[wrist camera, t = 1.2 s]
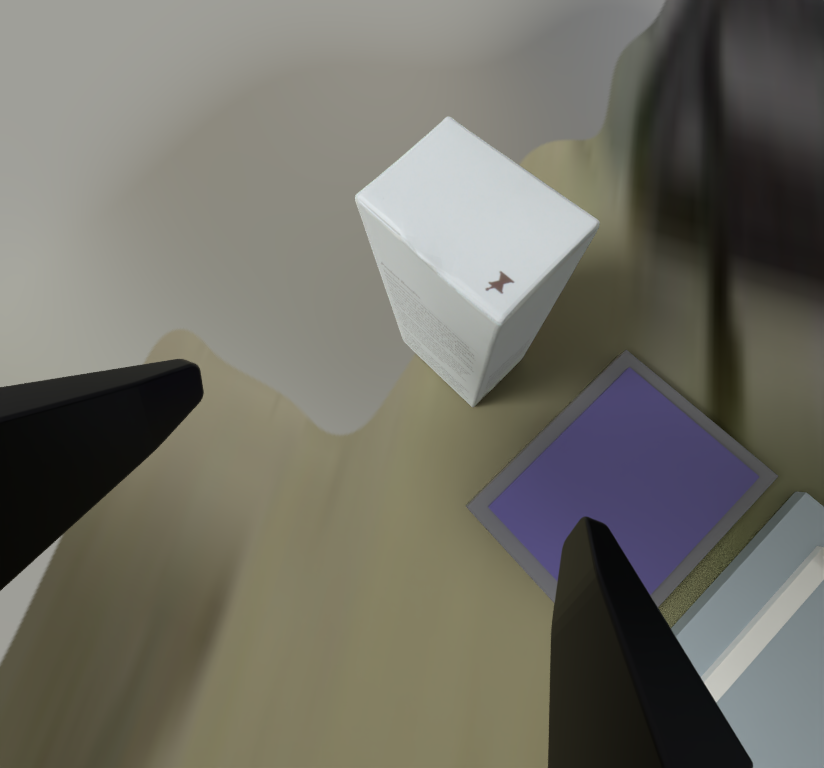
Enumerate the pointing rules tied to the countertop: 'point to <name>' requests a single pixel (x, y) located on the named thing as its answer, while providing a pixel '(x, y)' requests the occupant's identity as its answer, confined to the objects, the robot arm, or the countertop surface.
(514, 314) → the skincare box
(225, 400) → the countertop surface
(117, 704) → the countertop surface
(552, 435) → the ink pad
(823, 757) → the board
